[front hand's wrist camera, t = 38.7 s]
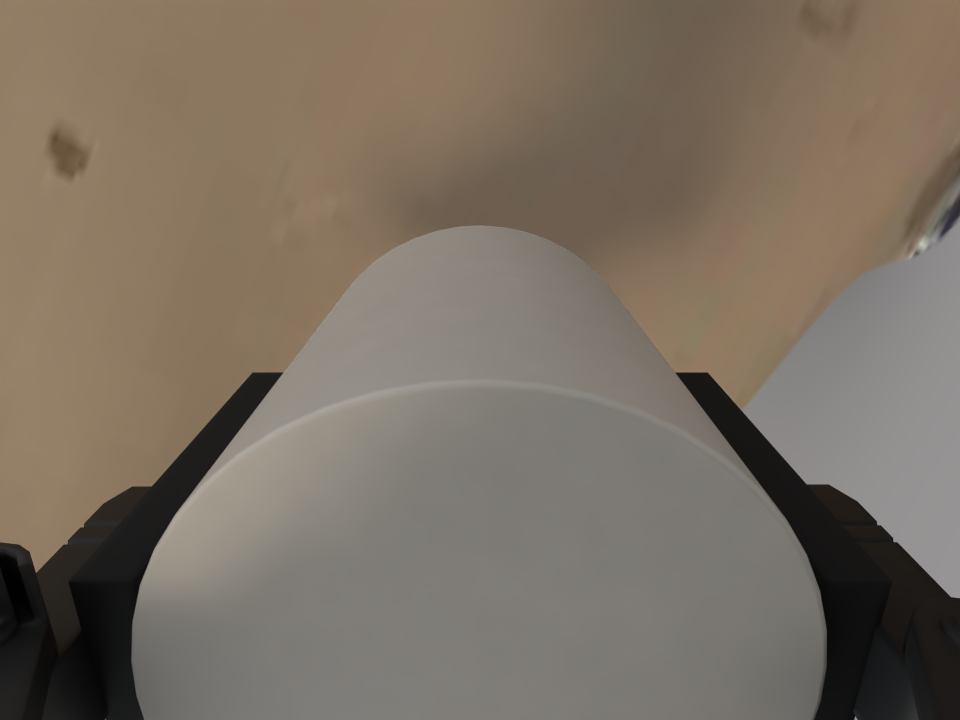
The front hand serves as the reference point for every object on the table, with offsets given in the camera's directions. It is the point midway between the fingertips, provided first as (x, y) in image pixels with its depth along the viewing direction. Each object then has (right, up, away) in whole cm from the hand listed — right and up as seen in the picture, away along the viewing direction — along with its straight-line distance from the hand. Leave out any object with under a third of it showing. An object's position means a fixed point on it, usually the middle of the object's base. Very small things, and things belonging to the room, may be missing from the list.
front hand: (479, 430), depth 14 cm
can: (0, +1, +2) cm, 2 cm away
